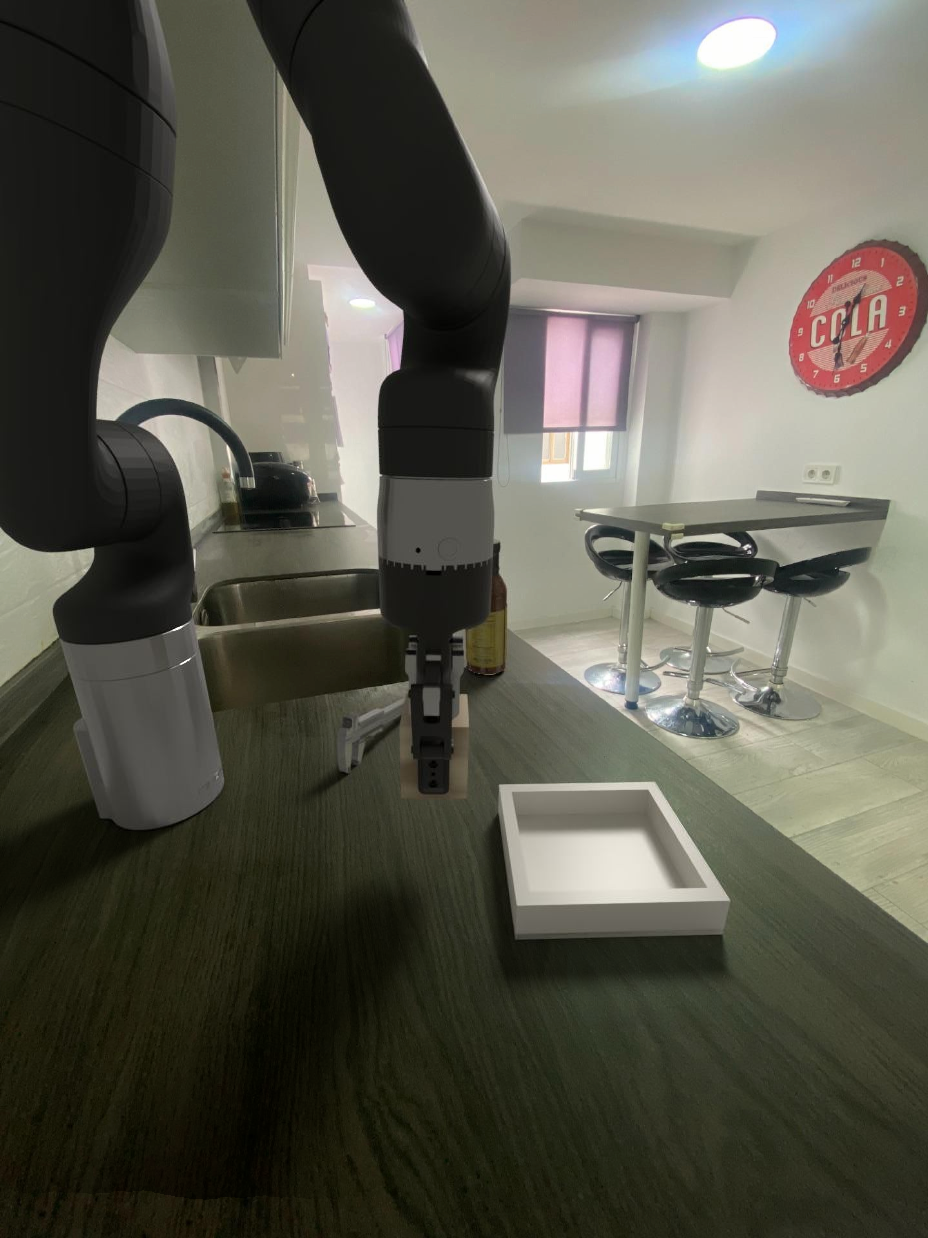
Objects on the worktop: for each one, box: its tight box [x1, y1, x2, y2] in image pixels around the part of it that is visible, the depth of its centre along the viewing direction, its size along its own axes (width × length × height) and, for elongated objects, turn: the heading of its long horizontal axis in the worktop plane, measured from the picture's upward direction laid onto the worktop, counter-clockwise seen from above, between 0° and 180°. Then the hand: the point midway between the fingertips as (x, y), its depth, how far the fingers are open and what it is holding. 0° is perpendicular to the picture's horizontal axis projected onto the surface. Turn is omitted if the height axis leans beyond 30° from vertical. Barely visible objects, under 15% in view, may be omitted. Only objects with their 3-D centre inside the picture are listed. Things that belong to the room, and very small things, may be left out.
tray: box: [497, 781, 731, 941], centre depth 37 cm, size 14×12×3 cm
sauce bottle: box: [464, 538, 508, 674], centre depth 69 cm, size 7×6×20 cm
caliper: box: [336, 696, 406, 774], centre depth 56 cm, size 20×1×6 cm, turn 157°
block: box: [398, 693, 470, 800], centre depth 35 cm, size 5×5×6 cm
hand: (435, 767), depth 36 cm, fingers closed on block, 4 cm apart
